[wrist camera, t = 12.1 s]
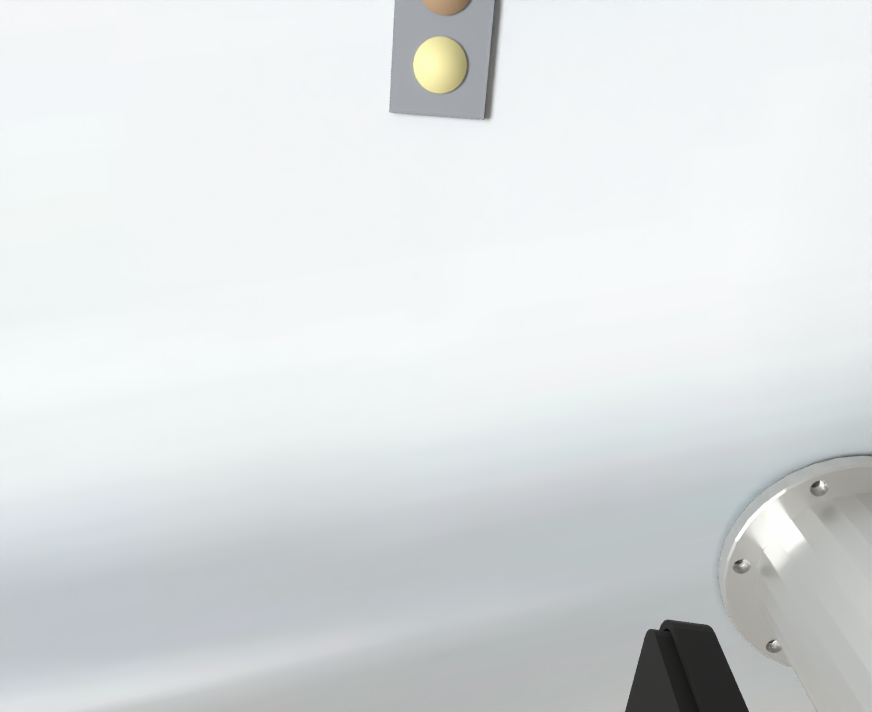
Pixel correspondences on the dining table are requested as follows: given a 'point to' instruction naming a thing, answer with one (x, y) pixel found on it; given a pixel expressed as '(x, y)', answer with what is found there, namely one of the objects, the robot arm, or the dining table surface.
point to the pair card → (441, 57)
